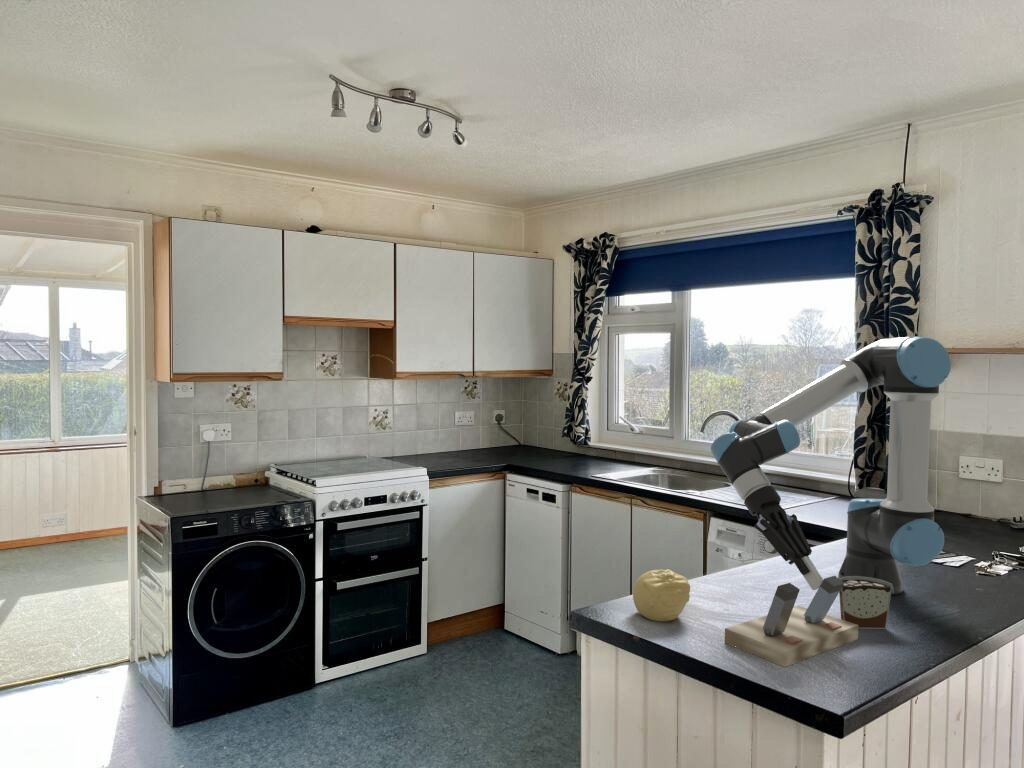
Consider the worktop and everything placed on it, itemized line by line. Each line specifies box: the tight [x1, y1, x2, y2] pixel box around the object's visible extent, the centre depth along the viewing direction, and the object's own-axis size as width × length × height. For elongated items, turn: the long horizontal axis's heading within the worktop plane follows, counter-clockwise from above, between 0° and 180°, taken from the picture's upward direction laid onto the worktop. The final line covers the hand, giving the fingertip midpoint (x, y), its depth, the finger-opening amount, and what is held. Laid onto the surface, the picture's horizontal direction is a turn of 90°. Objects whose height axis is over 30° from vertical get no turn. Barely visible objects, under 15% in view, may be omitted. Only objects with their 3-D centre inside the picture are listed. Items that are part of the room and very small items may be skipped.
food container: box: [838, 576, 894, 630], centre depth 163 cm, size 12×6×10 cm, turn 92°
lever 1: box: [763, 582, 800, 636], centre depth 147 cm, size 4×2×11 cm, turn 126°
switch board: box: [724, 605, 859, 668], centre depth 152 cm, size 26×14×3 cm, turn 126°
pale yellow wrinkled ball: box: [632, 568, 691, 622], centre depth 165 cm, size 11×12×11 cm
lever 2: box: [804, 575, 844, 623], centre depth 154 cm, size 4×2×11 cm, turn 126°
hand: (819, 586), depth 154 cm, fingers closed
